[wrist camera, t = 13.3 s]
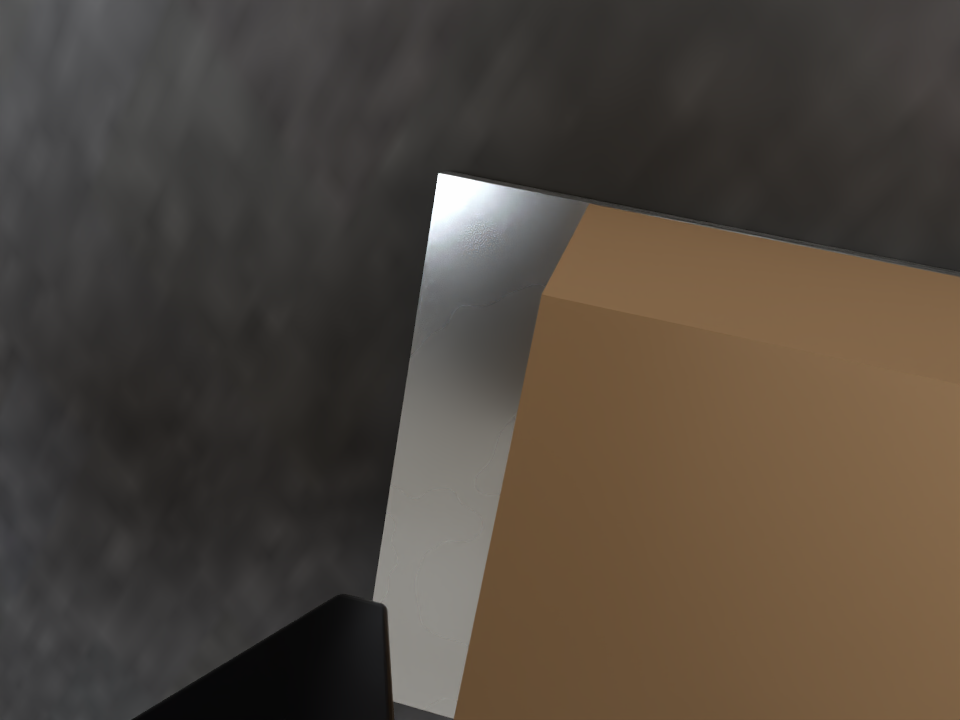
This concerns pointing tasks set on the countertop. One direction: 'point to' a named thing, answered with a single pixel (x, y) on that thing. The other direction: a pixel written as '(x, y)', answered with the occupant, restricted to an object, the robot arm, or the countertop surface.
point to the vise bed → (470, 413)
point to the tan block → (726, 488)
